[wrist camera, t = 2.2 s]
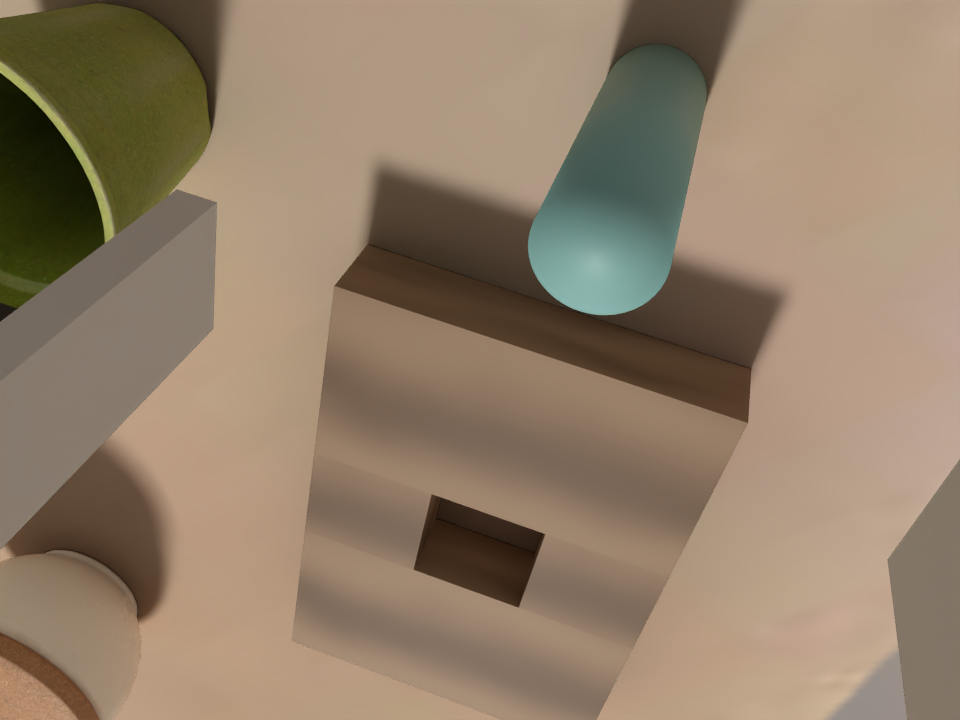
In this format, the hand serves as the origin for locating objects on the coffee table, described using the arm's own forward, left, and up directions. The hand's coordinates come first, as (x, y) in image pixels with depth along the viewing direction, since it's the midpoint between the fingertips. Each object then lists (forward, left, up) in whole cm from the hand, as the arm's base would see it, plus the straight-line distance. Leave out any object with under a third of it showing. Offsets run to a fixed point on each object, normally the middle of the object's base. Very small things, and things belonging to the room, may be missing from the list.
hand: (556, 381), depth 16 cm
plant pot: (+5, -17, -14) cm, 23 cm away
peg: (0, 0, -14) cm, 14 cm away
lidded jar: (+35, -21, -15) cm, 43 cm away
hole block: (+18, -1, -14) cm, 23 cm away
